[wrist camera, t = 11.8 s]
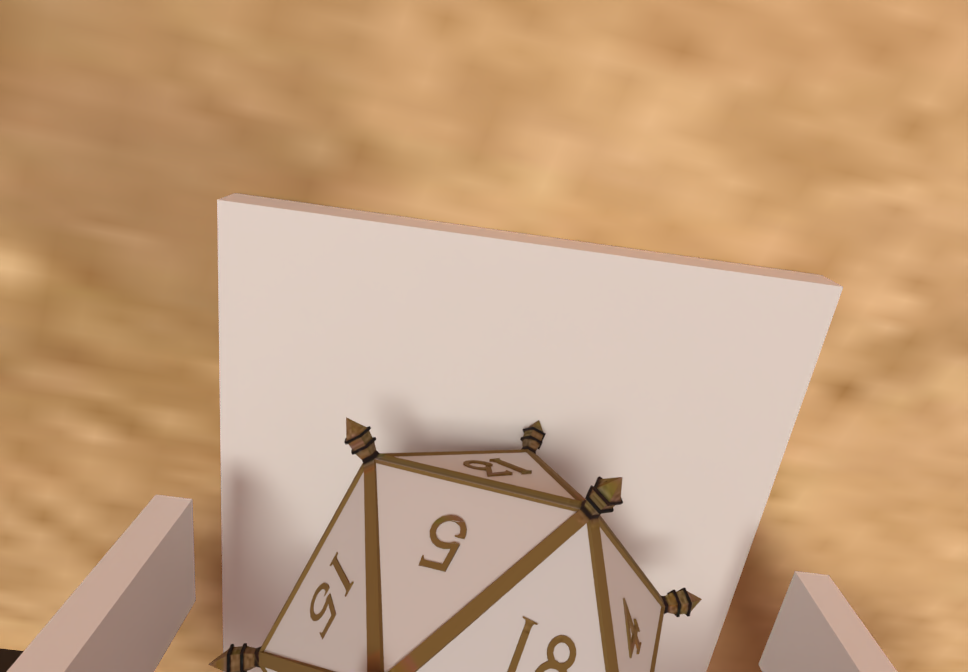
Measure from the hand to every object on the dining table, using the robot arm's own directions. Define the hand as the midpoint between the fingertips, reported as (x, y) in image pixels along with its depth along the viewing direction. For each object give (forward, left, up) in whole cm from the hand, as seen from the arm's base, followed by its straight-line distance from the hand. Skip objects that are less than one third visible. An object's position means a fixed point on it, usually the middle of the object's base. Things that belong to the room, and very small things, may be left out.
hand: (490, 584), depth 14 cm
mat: (0, 0, -4) cm, 4 cm away
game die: (0, 0, -3) cm, 3 cm away
